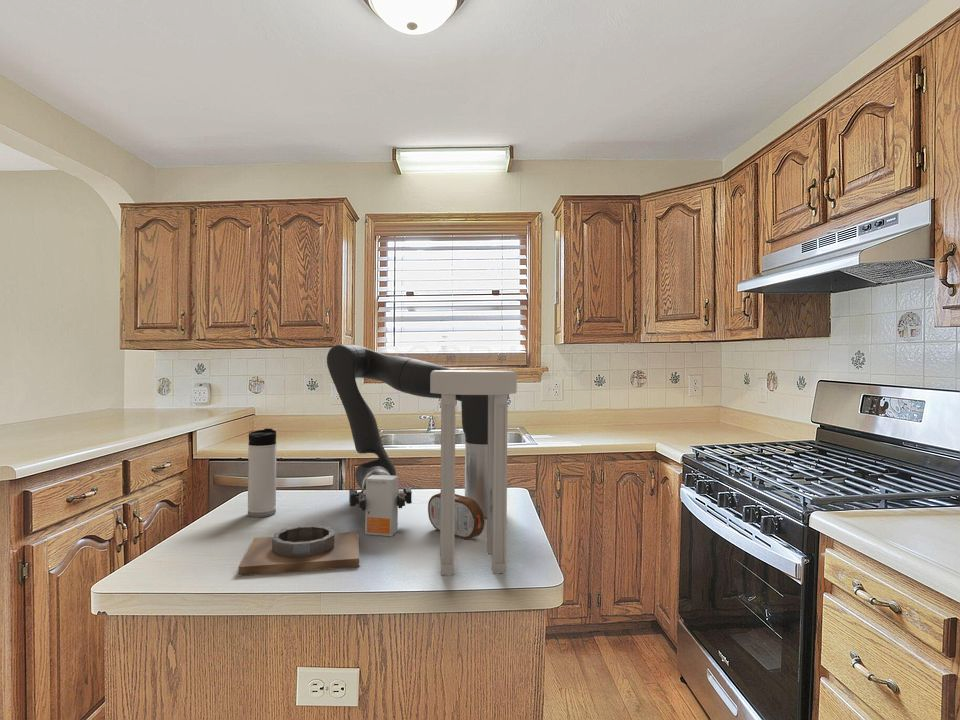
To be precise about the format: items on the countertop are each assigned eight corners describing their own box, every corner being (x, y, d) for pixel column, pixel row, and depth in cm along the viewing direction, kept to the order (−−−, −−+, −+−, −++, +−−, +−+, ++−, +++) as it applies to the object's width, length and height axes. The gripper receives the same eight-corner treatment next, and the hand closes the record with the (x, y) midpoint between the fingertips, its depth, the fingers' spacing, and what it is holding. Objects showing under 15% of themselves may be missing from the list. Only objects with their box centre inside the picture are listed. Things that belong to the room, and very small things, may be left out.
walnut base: (357, 538, 114) (357, 531, 114) (359, 566, 99) (359, 558, 99) (254, 545, 110) (254, 537, 110) (238, 575, 94) (238, 566, 94)
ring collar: (335, 536, 111) (335, 524, 111) (333, 555, 100) (333, 541, 100) (276, 540, 108) (276, 527, 108) (268, 559, 98) (268, 545, 98)
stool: (428, 580, 93) (430, 371, 93) (429, 549, 108) (430, 369, 109) (519, 577, 94) (521, 371, 94) (507, 547, 110) (509, 370, 110)
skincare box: (364, 535, 117) (364, 478, 117) (371, 529, 121) (372, 474, 121) (392, 536, 116) (392, 479, 116) (398, 530, 120) (398, 475, 120)
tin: (485, 541, 114) (485, 499, 114) (474, 544, 112) (475, 502, 112) (435, 525, 124) (436, 488, 124) (425, 528, 122) (425, 490, 122)
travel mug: (281, 510, 136) (281, 428, 136) (268, 518, 129) (268, 431, 129) (256, 509, 136) (257, 428, 136) (242, 517, 130) (243, 431, 130)
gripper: (347, 472, 131) (347, 487, 115) (408, 470, 134) (417, 485, 118) (347, 504, 131) (347, 524, 114) (408, 501, 134) (416, 520, 118)
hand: (382, 504), depth 116 cm, fingers closed on skincare box, 7 cm apart
